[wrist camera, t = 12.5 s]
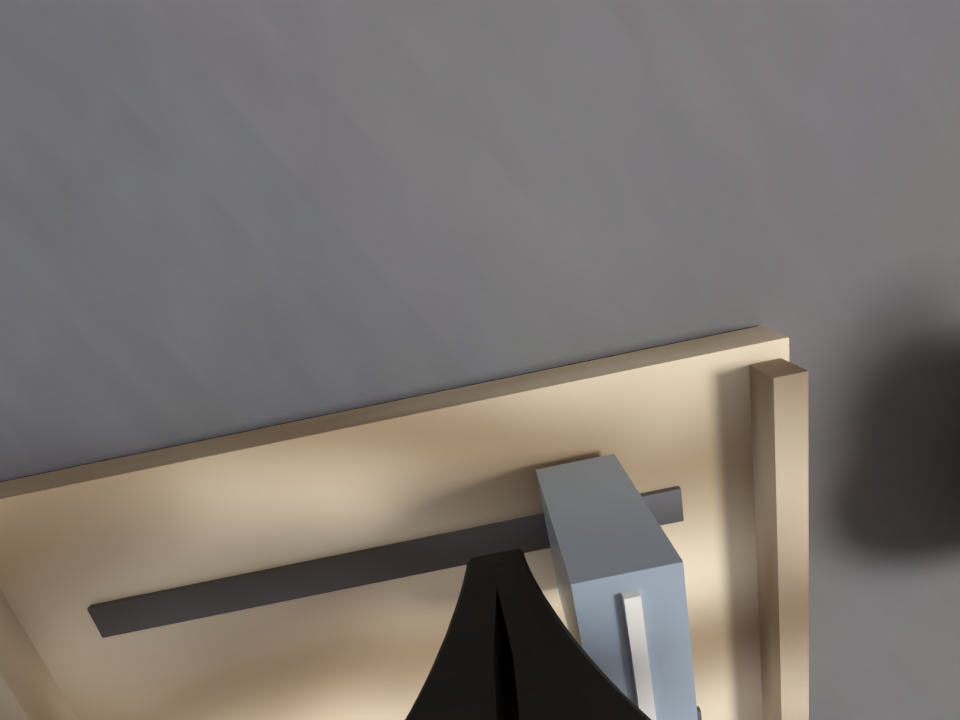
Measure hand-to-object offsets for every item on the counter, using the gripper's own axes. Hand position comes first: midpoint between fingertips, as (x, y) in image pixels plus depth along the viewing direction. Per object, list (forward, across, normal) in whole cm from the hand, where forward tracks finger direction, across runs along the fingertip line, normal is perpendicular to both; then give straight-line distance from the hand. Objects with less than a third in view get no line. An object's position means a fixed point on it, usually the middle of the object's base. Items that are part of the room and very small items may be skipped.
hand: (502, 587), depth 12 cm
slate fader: (+2, -2, 0) cm, 3 cm away
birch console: (+3, +3, +4) cm, 6 cm away
